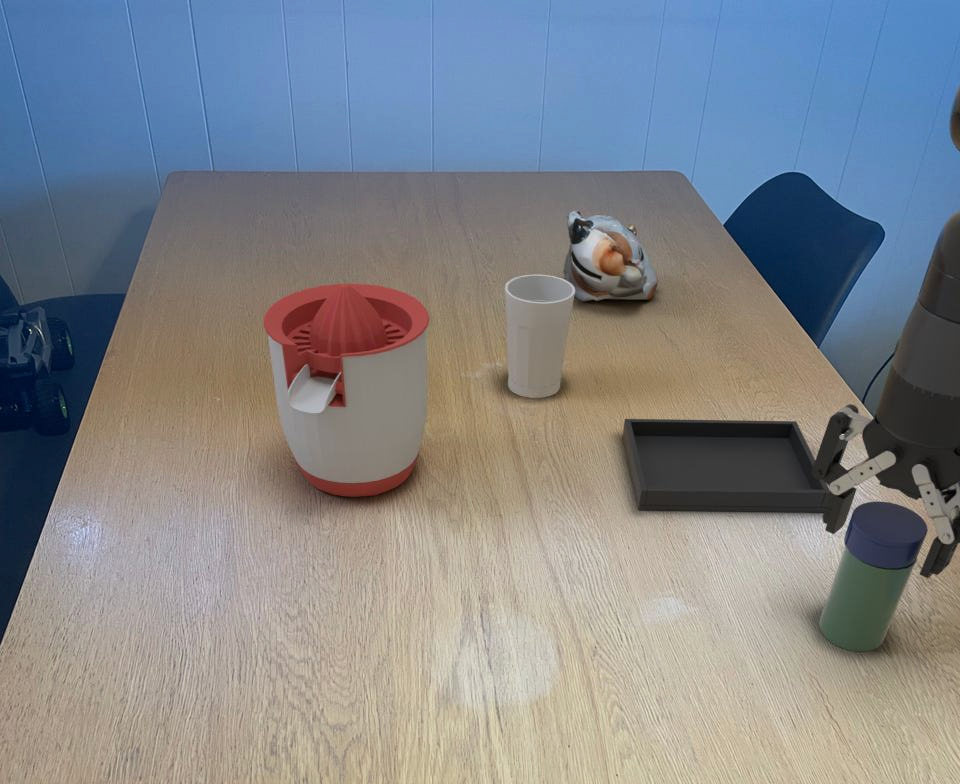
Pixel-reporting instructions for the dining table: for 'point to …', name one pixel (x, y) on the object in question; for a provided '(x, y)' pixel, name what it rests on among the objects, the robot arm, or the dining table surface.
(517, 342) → the cup
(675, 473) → the tray
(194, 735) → the dining table surface
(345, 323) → the citrus juicer
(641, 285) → the lucky cat figurine
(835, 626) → the jar
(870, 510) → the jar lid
